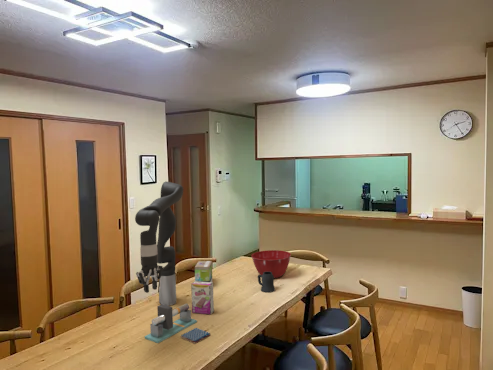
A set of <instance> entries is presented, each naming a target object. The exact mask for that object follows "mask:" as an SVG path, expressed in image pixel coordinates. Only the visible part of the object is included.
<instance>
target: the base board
mask: <svg viewBox="0 0 493 370" xmlns="http://www.w3.org/2000/svg"><path fill="white" fill-rule="evenodd" d="M197 322H198V320H197V319H195V318H191V321H190V322H188V323H186V322H182V321H180V318H178V319H176V320H173V328H171V329H169V330H167V329H164V328H163V336H162V337H160V338H156V337H153V336H151V332H150V333H148V334H146V335H145V336H144V340H148V341H151V342H153V343H155V344H160V343H161V342H163V341H165V340H167V339H168V338H170V337H172V336H174V335H176V334H178V333H179V332H182V331H183V330H186V329H187V328H189V327H190V326H193V325H194V324H196V323H197Z"/></svg>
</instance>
